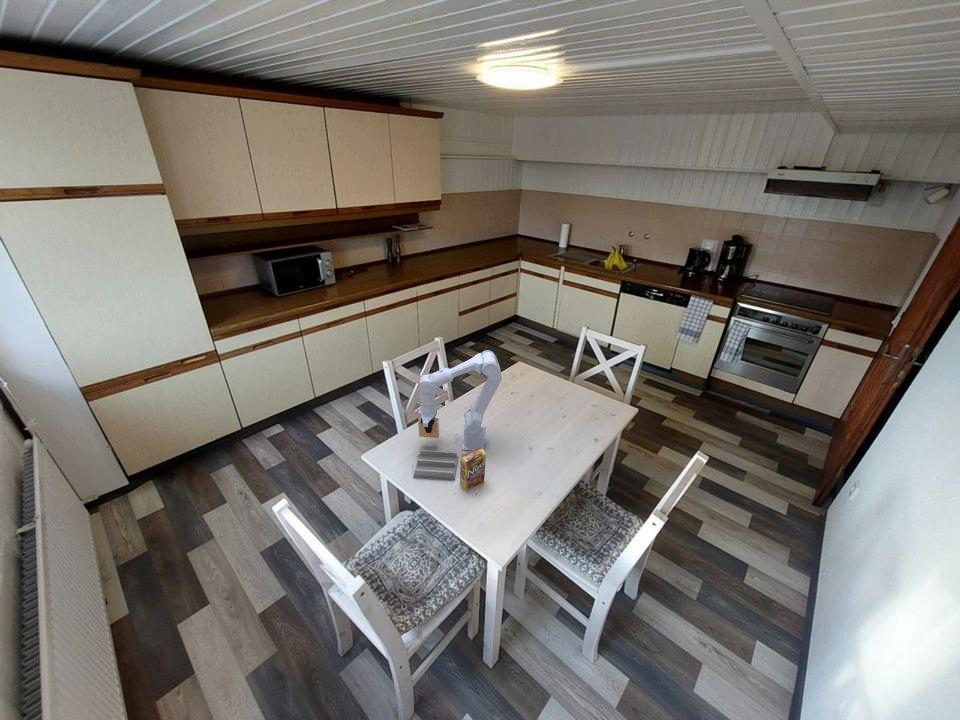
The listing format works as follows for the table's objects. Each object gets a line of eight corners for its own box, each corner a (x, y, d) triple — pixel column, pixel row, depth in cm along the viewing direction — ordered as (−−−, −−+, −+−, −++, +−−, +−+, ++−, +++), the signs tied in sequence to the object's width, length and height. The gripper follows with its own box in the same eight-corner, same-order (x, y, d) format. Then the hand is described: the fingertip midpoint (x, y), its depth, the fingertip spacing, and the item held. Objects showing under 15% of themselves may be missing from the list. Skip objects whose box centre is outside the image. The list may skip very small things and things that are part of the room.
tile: (439, 433, 163) (438, 418, 159) (438, 438, 160) (437, 422, 157) (420, 432, 164) (419, 417, 160) (419, 436, 161) (418, 421, 157)
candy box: (465, 492, 144) (465, 462, 137) (459, 484, 147) (459, 454, 140) (485, 482, 148) (486, 452, 141) (479, 475, 151) (479, 445, 144)
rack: (458, 458, 159) (458, 451, 158) (454, 480, 149) (454, 473, 147) (419, 455, 160) (419, 449, 158) (413, 477, 150) (412, 470, 148)
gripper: (422, 392, 160) (423, 418, 167) (414, 413, 148) (416, 440, 154) (438, 393, 160) (439, 419, 167) (432, 414, 147) (433, 441, 154)
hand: (429, 429), depth 161 cm, fingers closed on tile, 3 cm apart
